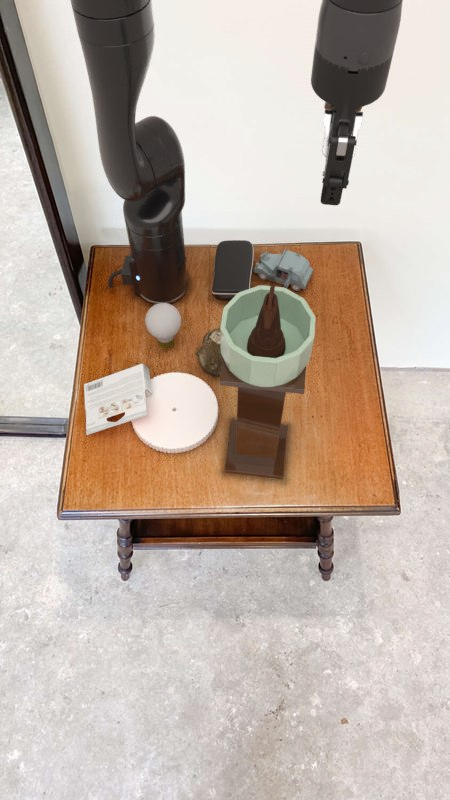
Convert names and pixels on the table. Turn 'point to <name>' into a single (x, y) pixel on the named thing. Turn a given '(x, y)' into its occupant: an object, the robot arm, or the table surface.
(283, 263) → the toy car
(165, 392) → the plastic lid
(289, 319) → the green pedestal cup
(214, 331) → the fossilized seashell
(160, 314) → the light bulb
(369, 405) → the table surface
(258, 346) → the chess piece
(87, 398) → the ink box
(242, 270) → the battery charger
